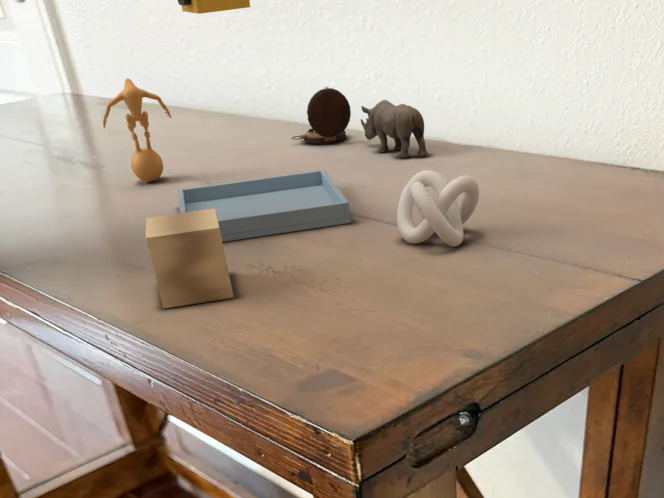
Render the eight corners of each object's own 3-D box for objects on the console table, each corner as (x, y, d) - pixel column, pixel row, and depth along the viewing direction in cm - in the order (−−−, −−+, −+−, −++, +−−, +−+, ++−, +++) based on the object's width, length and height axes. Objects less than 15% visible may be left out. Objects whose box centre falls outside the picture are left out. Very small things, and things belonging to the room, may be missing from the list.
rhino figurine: (377, 140, 115) (373, 93, 112) (434, 155, 106) (431, 103, 102) (352, 146, 114) (347, 98, 110) (408, 161, 104) (405, 109, 101)
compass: (339, 133, 121) (333, 78, 117) (354, 143, 115) (349, 85, 111) (287, 141, 119) (279, 85, 115) (300, 151, 113) (292, 93, 109)
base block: (163, 308, 70) (145, 237, 66) (163, 285, 74) (145, 217, 71) (233, 297, 70) (219, 227, 67) (228, 275, 75) (214, 207, 71)
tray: (186, 247, 83) (181, 226, 81) (181, 208, 94) (177, 189, 93) (351, 223, 85) (348, 202, 84) (326, 188, 97) (324, 169, 96)
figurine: (179, 172, 108) (156, 70, 101) (188, 182, 104) (165, 75, 97) (116, 183, 106) (88, 79, 99) (123, 193, 102) (94, 85, 94)
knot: (456, 221, 83) (454, 160, 80) (498, 241, 77) (498, 176, 74) (390, 236, 81) (385, 174, 77) (429, 258, 75) (425, 191, 71)
